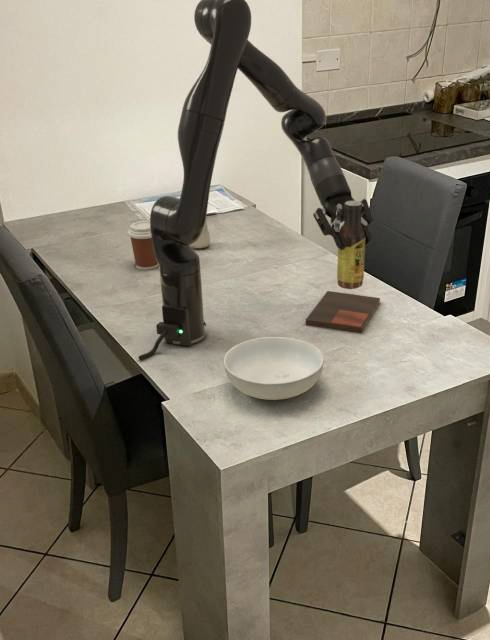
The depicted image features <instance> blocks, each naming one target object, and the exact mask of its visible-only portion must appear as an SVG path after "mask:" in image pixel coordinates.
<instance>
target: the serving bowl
mask: <svg viewBox="0 0 490 640" xmlns="http://www.w3.org/2000/svg"><path fill="white" fill-rule="evenodd" d="M324 364H325V357H324V355H323V353H322V351H321V350H320V349H319V348H318V347H316V345H313V344H312V343H310V342H308V341H305V340H303V339H299V338H293V337H287V336H263V337H257V338H252V339H248V340H245V341H242V342H240V343H238V344H236V345H234V346H233V347H231V348H230V349H229V350H227V352H226V353H225V354H224V358H223V367H224V372H225V374H226V377H227V379H228V381H229V382H230V383H231V385H232V386H233V387H234V388H235V389H236V390H238V391H239V392H241V393H242V394H245V395H247V396H249V397H252V398H256V399H260V400H270V401H277V400H286V399H291V398H294V397H297V396H299V395H301V394H302V395H303V394H304V393H305V392H307V391H308V390H310V389H311V388H313V386H314V385H315V384H316V383H317V382H318V380H319V379H320V377H321V375H322V372H323V370H324V369H323V368H324ZM270 372H285V373H287V374H289V377H287V378H282V377H281V378H280V379H277V378H275V377H274V374H275V373H274V374H272V375H269V374H270Z"/></svg>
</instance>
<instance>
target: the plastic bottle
mask: <svg viewBox="0 0 490 640" xmlns="http://www.w3.org/2000/svg"><path fill="white" fill-rule="evenodd" d="M207 219H208V218H207V215H206V221H205V225H204V229H203V231H202V234H201V236H200V237H199V239H198V240H197V241H196V242H195V243H193V244H191V245H190V247H191V248H192V249H203V248H206V247H208V246H210V243H211V235H210V231H209V226H208V221H207Z"/></svg>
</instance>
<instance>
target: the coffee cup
mask: <svg viewBox="0 0 490 640" xmlns="http://www.w3.org/2000/svg"><path fill="white" fill-rule="evenodd" d="M126 232H127V233H126V234H127V236H128V237H129V238H130V242H131V248H132V253H133V257H134V262H135V267H136V268H137V269H139V270H144V271H145V270H152V269H156V268H157V267H159V264H158V262H157V260H156V258H155V255H154V249H153V243H152V236H151V229H150V220H139V221H135V222H132V223H131V224H130V228H129V229H128V230H127V231H126Z"/></svg>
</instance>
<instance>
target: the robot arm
mask: <svg viewBox="0 0 490 640" xmlns="http://www.w3.org/2000/svg"><path fill="white" fill-rule="evenodd" d="M193 16H194V18H193V19H194V25H195V27H196V30H197V32H198V34H199V35H200V36H201V37H202V38H203V40H204V41H206V42H207V43H208V44H210V49H209V53H208V57H207V60H206V63H205V65H204V67H203V70H202V71H201V73H200V74H199V76H198V78H197V79H196V81H195V82H194V83H193V85H192V87H191V89H190V90H189V92H188V93H187V96H186V98H185V99H184V102H183V106H182V108H181V114H180V118H179V123H178V127H177V143H178V148H179V153H180V158H181V164H182V168H183V179H182V186H181V187H182V188H181V192H180V196H179V197H176V196H172V195H163V196H161V197H159V198H157V199H156V201H155V202H154V204H153V205H152V207H151V210H150V214H149V221H150V229H151V236H152V243H153V249H154V255H155V258H156V260H157V262H158V264H159V265H158V269H159V279H160V289H161V300H162V305H161V309H162V310H161V312H162V321H159V322H158V323H156V334H157V335H159V337H158V338H157V339H156V341H155V343H154V345H153V348H152V349H150V351H148V352H147V353H143V354H141V355H139V356H138V359H139V361H142V360H144V359H147V358H149V357H152V356H153V355H154V354H155V353H156V352H157V351H158V349H159V346H160V344H161V343H162V341H163V340H164V343H166V344H171V345H177V346H183V347H190V346H192V345H195V344H198V343H199V342H201V341H202V340H204V339H205V337H206V330H205V328H207V323H206V322H205V317H204V315H205V314H204V304H203V303H204V301H203V300H204V299H203V287H202V286H203V285H202V272H201V258H200V256H199V254H198V253H197V252H196V251H195V250H194V248H193V247H191V246H190V245H191V244H193V243H195V242H196V241H197V240H198V239H199V237H200V236H201V234H202V231H203V229H204V225H205V221H206V217H207V216H206V215H207V213H208V206H209V200H210V199H209V198H210V192H211V185H212V179H213V173H214V170H215V169H214V168H215V164H216V159H217V154H218V151H219V148H220V147H219V146H220V142H221V140H222V136H223V131H224V127H225V123H226V118H227V112H228V108H229V104H230V99H231V95H232V93H233V92H232V91H233V87H234V84H235V79H236V75H237V72H238V70H239V71H240V72H241V73H242V74H243V76H245V77H246V78H247V80H249V82H250V83H251V84H252V86H254V87H255V89H257V91H258V92H259V93H260V94H261V96H262V97H263V98H264V99H265V100H266V102H267V103H268V104H269V105H270V106H271V107H272V109H273V110H274V111H276V112H277V113H285V114H284V115H283V116H281V119H280V120H281V121H280V126H281V130H282V132H283V133H284V135H285V136H286V137H287V139H289V140H290V142H291V143H292V144H293V145H294V147H295V148H296V150H297V151H298V152H299V154H300V156H301V157H302V159H303V162H304V164H305V167H306V169H307V171H308V175H309V178H310V182H311V184H312V186H313V189H314V191H315V193H316V196H317V198H318V200H319V203H320V205H321V206H322V208H321V207H318V208H316V210H315V211H314V212H313V214H312V216H313V218H314V220H315V222H316V224H317V225H318V227H319V229H320V231H321V233H322V235H323V236H331V237H332V238H333V241H334V243H335V245H336V247H337V249H338V248H339V249H340V250H344V249H345V248H346V247H347V245H346V243H345V240H344V238H343V235H342V233H341V232H339V231H340V229H341V223H344V222H345V221H344V218H345V209H344V203H345V202H347V201H356V200H355V199H354V197H353V195H352V190H351V188H350V185H349V184H348V181H347V178H346V176H345V174H344V172H343V169H342V167H341V165H340V164H339V162H338V160H337V158H336V155H335V153H334V152H333V149H332V146H331V144H330V142H329V140H328V139H327V138H326V137H324V136H318V137H314V138H311V139H306V138H307V137H308V136H311V134H313V133H315V132H316V131H319V130H320V129H321V128H323V127H324V126H325V124H326V121H327V115H326V111H325V109H324V107H323V106H322V105H321V104H320V103H319V102H318V101H317V100H316V99H314V98H313V97H311V96H310V95H308V94H306V93H305V92H304V91H302V90H301V89H300V88H298V87H297V86H296V85H295V83H294V82H293V81H292V79H291V78H290V77H289V76H288V74H287V73H286V72H285V70H284V69H283V68H282V67H281V66H280V65H278V63H276V61H275V60H273V59H271V58H270V57H269V56H268V55H266V54H265V53H264V52H263V51H261V50H260V49H259V48H258V47H256V46H255V45H254V44H253V43H252V42H251V41H250V40H249V37H250V34H251V28H252V11H251V8H250V5H249V4H248V2H247V1H246V0H200V1H199V2H198V3H197V5H196V6H195V10H194V14H193ZM358 201H359V202H361V203H362V210H361V223H362V227H363V230H364V233H365V237H366V239H365V246H367V245H370V244H371V242H372V239H373V238H372V234H371V231H370V229H369V226H370V224H371V223H372V222H373V221H374V219H373V216H372V213H371V210H370V206H369V202H368V200H367V199H366V198H363V199H362V200H358ZM326 216H327V217H328V218H330V222H329V220H328V218H327V217H326Z"/></svg>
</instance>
